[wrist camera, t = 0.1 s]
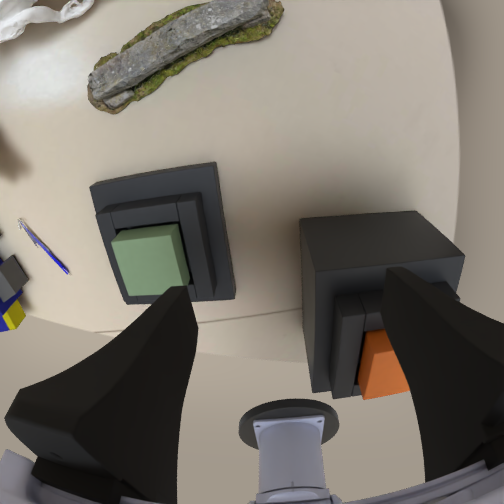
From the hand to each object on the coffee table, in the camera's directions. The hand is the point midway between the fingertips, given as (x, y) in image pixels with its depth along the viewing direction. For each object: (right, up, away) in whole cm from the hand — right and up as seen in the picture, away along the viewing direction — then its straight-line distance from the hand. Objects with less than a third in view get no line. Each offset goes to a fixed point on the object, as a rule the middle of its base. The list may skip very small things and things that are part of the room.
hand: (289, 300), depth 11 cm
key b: (-8, +2, +9) cm, 12 cm away
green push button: (-8, +3, +11) cm, 14 cm away
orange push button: (+7, 0, +12) cm, 14 cm away
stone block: (-6, +15, +5) cm, 17 cm away
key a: (+7, -4, +5) cm, 9 cm away
